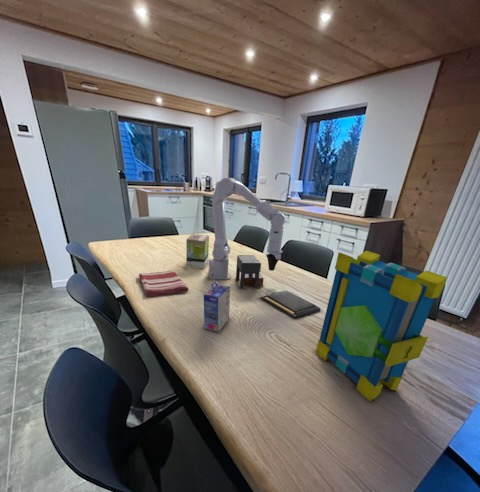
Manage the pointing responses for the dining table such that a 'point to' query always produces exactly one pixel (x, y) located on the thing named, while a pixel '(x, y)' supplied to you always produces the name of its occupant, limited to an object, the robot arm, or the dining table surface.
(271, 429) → the dining table surface
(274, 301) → the wallet
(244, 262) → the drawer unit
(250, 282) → the storage box
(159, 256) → the dining table surface
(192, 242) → the tea box
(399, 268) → the decorative book
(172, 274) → the dish towel
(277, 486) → the dining table surface
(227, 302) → the ink cartridge box
